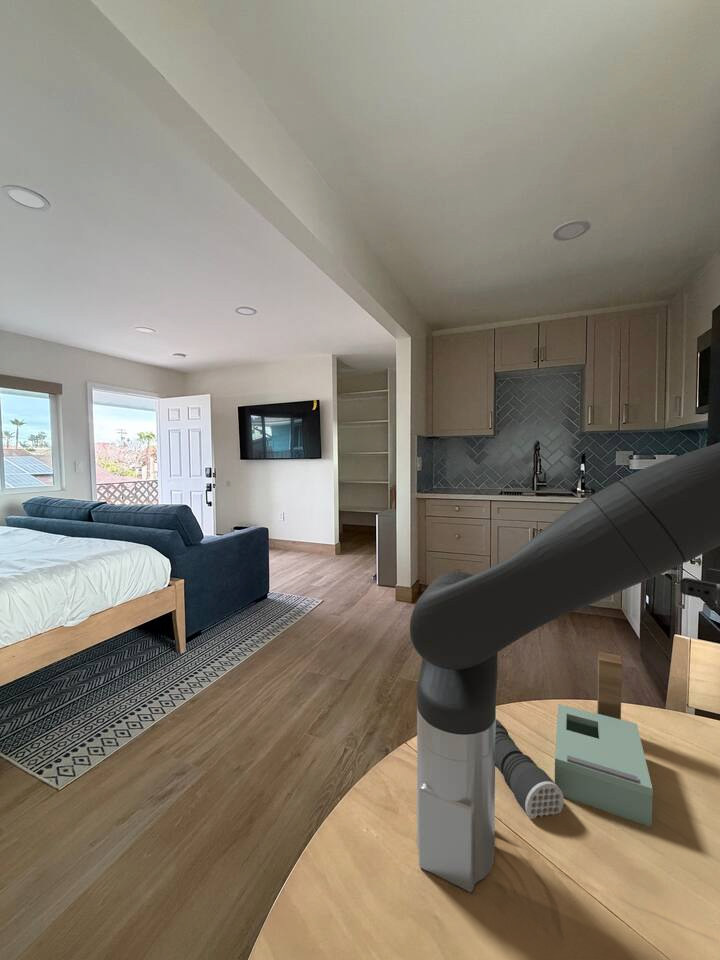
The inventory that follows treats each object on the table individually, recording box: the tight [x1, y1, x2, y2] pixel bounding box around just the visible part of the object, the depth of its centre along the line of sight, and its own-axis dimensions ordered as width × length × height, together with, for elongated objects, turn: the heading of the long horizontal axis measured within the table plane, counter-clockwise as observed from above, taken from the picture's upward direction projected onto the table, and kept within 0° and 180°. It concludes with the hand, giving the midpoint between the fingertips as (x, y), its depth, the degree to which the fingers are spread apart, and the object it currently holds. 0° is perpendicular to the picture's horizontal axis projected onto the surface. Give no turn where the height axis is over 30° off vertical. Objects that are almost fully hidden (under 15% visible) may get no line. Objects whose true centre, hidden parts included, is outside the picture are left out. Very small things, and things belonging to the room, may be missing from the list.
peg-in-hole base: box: [554, 703, 654, 828], centre depth 59 cm, size 14×11×6 cm
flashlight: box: [495, 718, 565, 820], centre depth 59 cm, size 15×5×5 cm, turn 12°
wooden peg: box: [596, 651, 623, 720], centre depth 67 cm, size 3×3×14 cm
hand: (694, 580), depth 57 cm, fingers open, 8 cm apart
